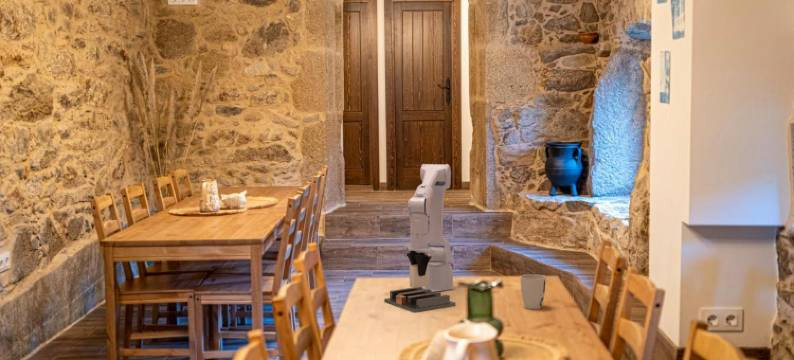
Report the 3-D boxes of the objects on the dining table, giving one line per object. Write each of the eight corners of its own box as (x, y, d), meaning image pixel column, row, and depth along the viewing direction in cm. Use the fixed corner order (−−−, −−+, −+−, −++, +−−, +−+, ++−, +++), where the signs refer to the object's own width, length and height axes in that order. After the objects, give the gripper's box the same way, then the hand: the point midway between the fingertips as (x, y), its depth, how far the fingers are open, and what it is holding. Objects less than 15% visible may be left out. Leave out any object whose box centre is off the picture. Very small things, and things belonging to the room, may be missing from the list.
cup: (547, 310, 286) (547, 279, 285) (521, 310, 286) (521, 279, 285) (543, 304, 294) (544, 274, 293) (518, 304, 294) (519, 274, 293)
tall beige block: (424, 284, 298) (424, 263, 297) (429, 285, 296) (428, 264, 295) (409, 286, 295) (409, 265, 294) (413, 287, 293) (413, 266, 292)
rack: (424, 295, 308) (424, 285, 308) (455, 305, 293) (455, 295, 293) (384, 301, 299) (384, 291, 299) (414, 312, 284) (414, 301, 284)
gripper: (396, 232, 298) (397, 272, 299) (421, 237, 286) (421, 280, 287) (414, 230, 302) (414, 270, 303) (439, 235, 289) (439, 277, 291)
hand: (419, 274), depth 295 cm, fingers closed on tall beige block, 2 cm apart
